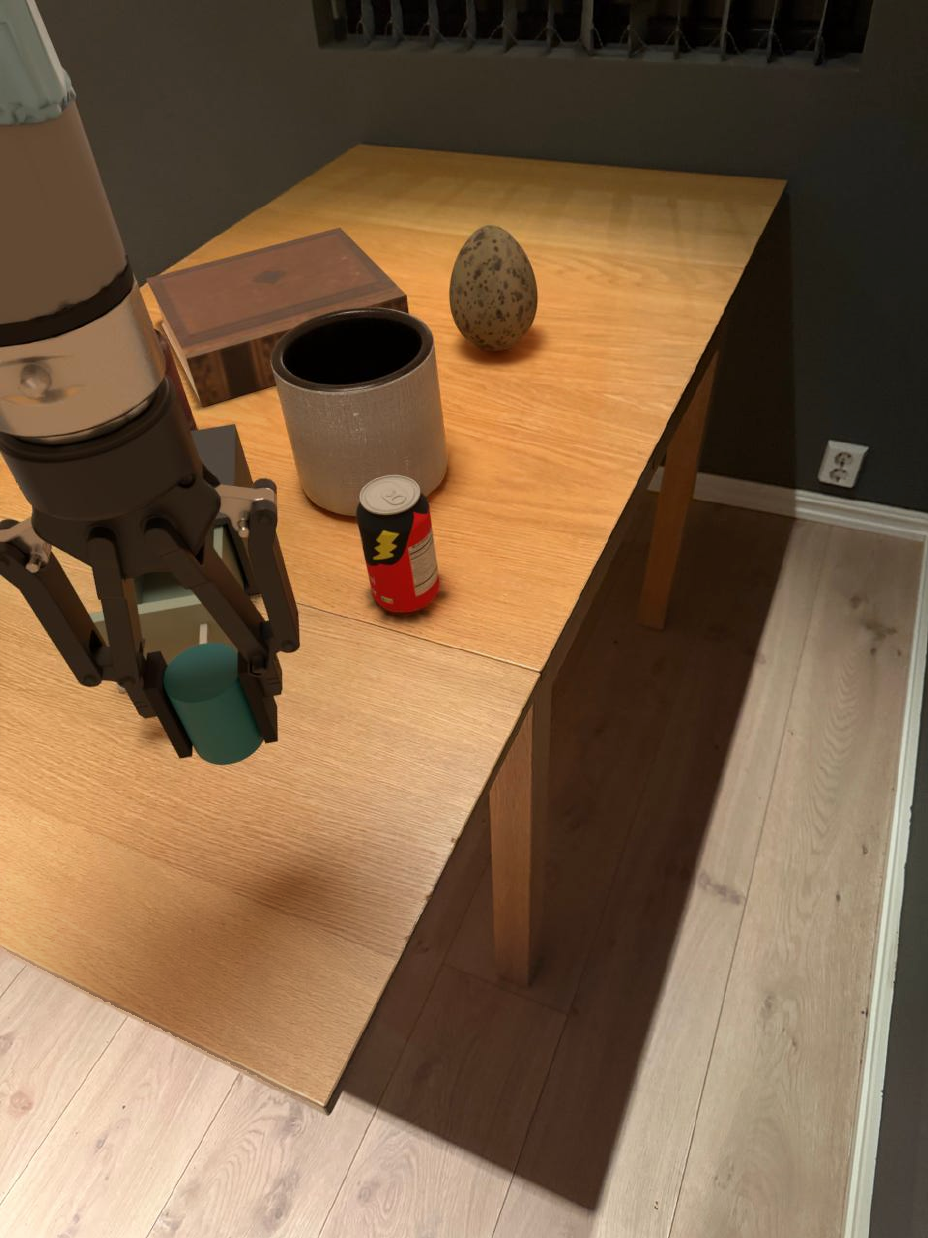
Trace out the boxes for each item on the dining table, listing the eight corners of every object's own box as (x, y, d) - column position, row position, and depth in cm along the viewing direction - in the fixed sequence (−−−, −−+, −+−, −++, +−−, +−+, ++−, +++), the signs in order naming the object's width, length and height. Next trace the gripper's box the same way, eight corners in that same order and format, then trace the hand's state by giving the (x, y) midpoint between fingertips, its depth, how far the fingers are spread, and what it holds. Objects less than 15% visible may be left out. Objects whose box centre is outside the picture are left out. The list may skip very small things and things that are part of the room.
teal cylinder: (192, 771, 52) (159, 708, 48) (196, 713, 55) (165, 649, 51) (267, 758, 52) (241, 694, 48) (266, 701, 55) (242, 636, 51)
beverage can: (410, 562, 86) (394, 461, 77) (454, 593, 82) (442, 491, 74) (359, 596, 83) (337, 495, 74) (403, 629, 79) (384, 528, 71)
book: (412, 342, 115) (406, 294, 110) (202, 406, 108) (186, 358, 103) (347, 271, 130) (340, 227, 126) (161, 323, 123) (145, 278, 119)
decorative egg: (470, 320, 118) (462, 205, 107) (548, 329, 114) (548, 211, 104) (441, 362, 111) (429, 243, 100) (523, 373, 108) (520, 251, 97)
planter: (469, 443, 98) (458, 313, 87) (416, 535, 88) (396, 401, 77) (340, 424, 103) (314, 297, 92) (275, 509, 93) (237, 379, 82)
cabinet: (260, 593, 84) (234, 515, 77) (127, 616, 83) (88, 539, 76) (258, 499, 94) (235, 423, 87) (139, 519, 93) (106, 444, 86)
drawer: (253, 712, 73) (228, 649, 67) (114, 737, 72) (77, 676, 67) (251, 559, 86) (230, 496, 81) (134, 579, 85) (104, 517, 80)
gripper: (-167, 484, 33) (75, 811, 50) (292, 413, 34) (378, 757, 51) (-110, 381, 39) (91, 708, 55) (287, 322, 40) (366, 661, 56)
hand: (229, 731), depth 53 cm, fingers closed on teal cylinder, 4 cm apart
